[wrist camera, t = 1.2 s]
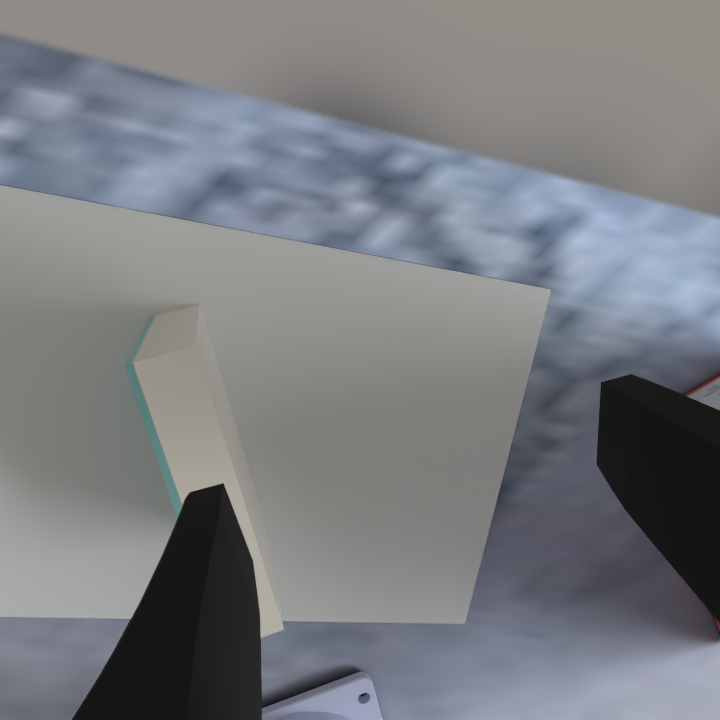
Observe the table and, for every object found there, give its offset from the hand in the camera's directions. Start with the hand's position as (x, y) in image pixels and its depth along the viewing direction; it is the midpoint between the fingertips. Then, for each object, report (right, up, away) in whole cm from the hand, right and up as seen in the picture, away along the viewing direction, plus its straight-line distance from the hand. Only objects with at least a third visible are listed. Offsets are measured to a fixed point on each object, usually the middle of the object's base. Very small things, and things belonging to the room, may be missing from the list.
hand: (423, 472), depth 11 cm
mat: (-5, -1, +10) cm, 11 cm away
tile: (-6, 0, +9) cm, 11 cm away
